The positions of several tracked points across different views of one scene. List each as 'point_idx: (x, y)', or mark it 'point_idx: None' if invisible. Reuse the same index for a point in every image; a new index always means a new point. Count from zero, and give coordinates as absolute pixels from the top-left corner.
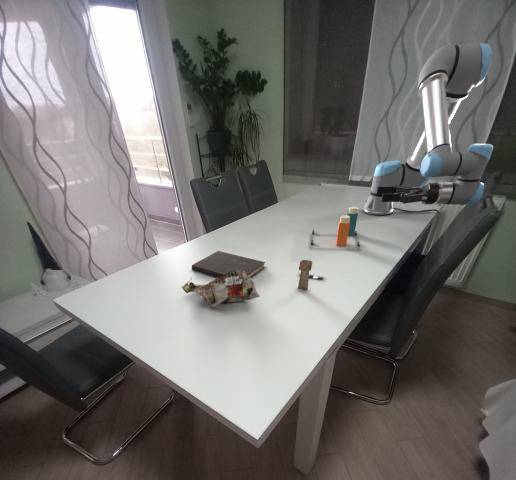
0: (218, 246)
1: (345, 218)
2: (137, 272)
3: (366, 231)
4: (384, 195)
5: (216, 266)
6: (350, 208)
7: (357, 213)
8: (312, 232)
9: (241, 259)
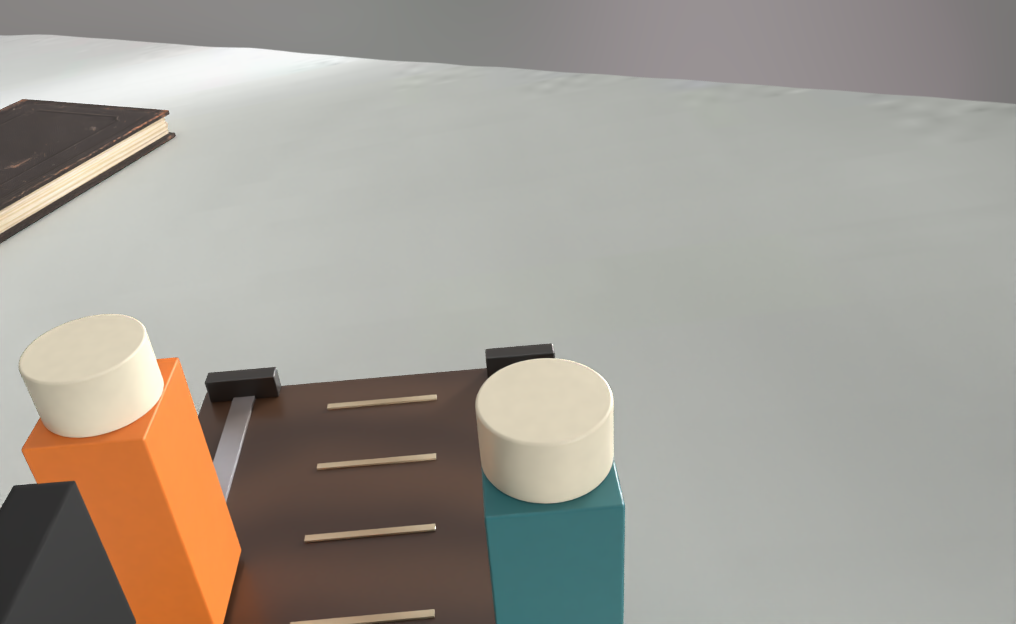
0: (307, 112)
1: (23, 355)
2: (73, 54)
3: None
4: (3, 546)
5: None
6: (503, 369)
7: (513, 510)
8: (486, 351)
9: (17, 177)
